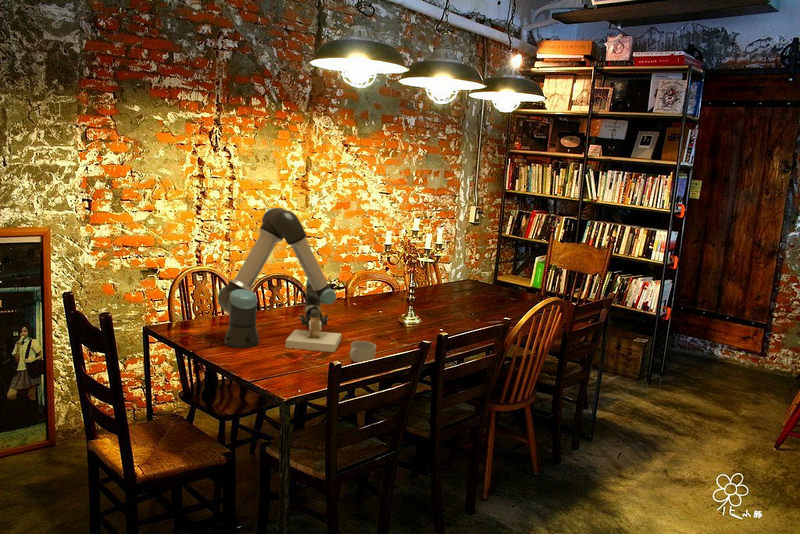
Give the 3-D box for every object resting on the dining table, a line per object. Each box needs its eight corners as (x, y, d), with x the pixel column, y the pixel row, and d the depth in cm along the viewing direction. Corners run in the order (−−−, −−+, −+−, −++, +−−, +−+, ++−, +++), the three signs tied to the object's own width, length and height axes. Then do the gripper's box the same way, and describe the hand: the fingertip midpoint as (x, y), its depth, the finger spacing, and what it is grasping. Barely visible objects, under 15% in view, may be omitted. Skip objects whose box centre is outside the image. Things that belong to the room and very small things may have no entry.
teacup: (363, 356, 274) (364, 339, 273) (380, 363, 267) (381, 345, 266) (339, 362, 265) (339, 344, 263) (355, 369, 257) (356, 351, 256)
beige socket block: (285, 347, 279) (285, 340, 278) (294, 336, 296) (295, 329, 296) (334, 352, 277) (334, 344, 277) (340, 340, 295) (341, 333, 295)
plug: (308, 345, 285) (310, 311, 282) (310, 342, 289) (312, 308, 286) (317, 345, 285) (319, 311, 282) (319, 343, 289) (320, 309, 286)
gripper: (330, 321, 305) (333, 335, 282) (295, 321, 302) (295, 335, 279) (331, 306, 304) (334, 319, 281) (296, 305, 300) (296, 318, 278)
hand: (315, 327), depth 280 cm, fingers closed on plug, 4 cm apart
